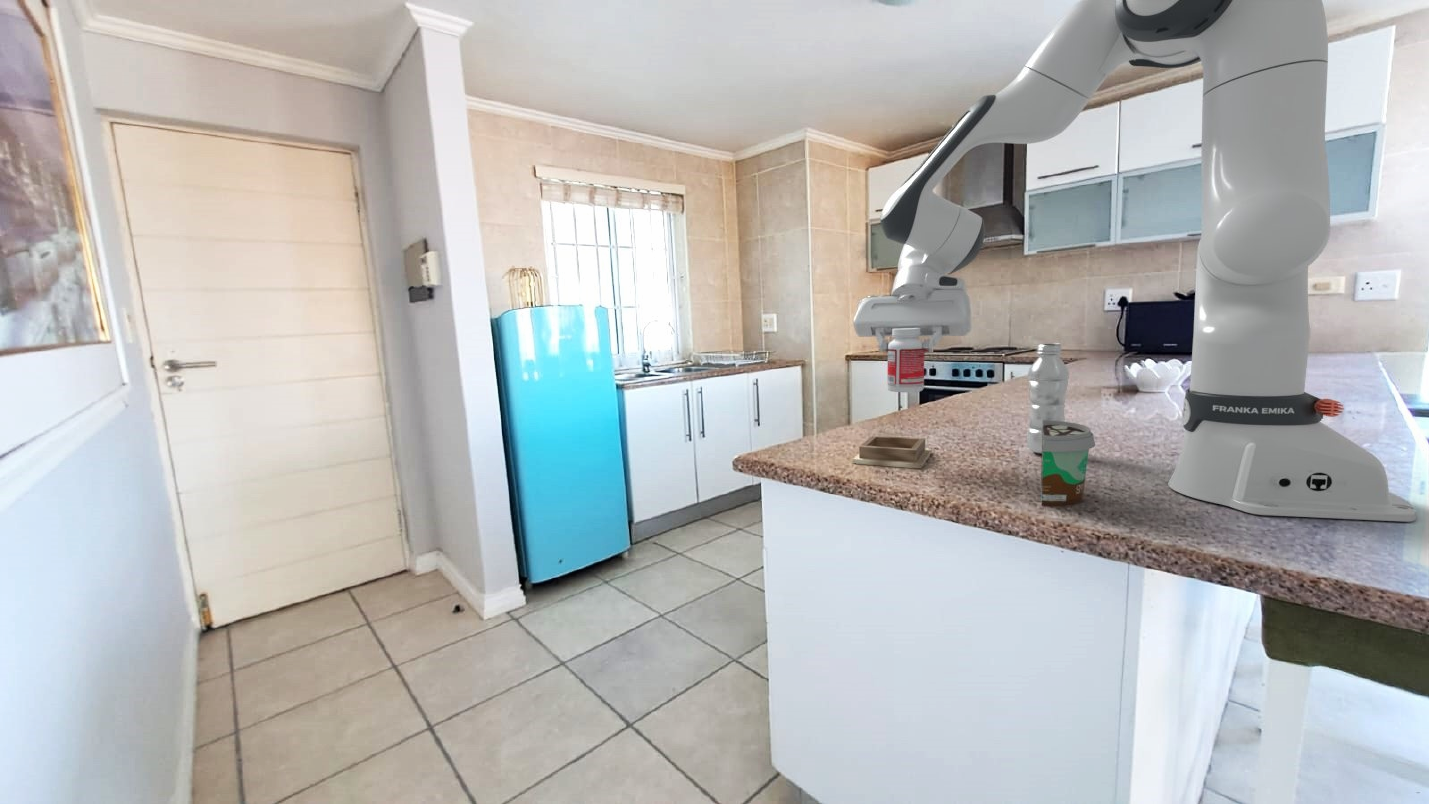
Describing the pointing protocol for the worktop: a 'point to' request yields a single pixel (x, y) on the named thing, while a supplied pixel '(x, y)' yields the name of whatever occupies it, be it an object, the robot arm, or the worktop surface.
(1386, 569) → the worktop surface
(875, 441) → the brown wooden square tray
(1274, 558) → the worktop surface
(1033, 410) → the plastic bottle
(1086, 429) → the food container
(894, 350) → the pill bottle
